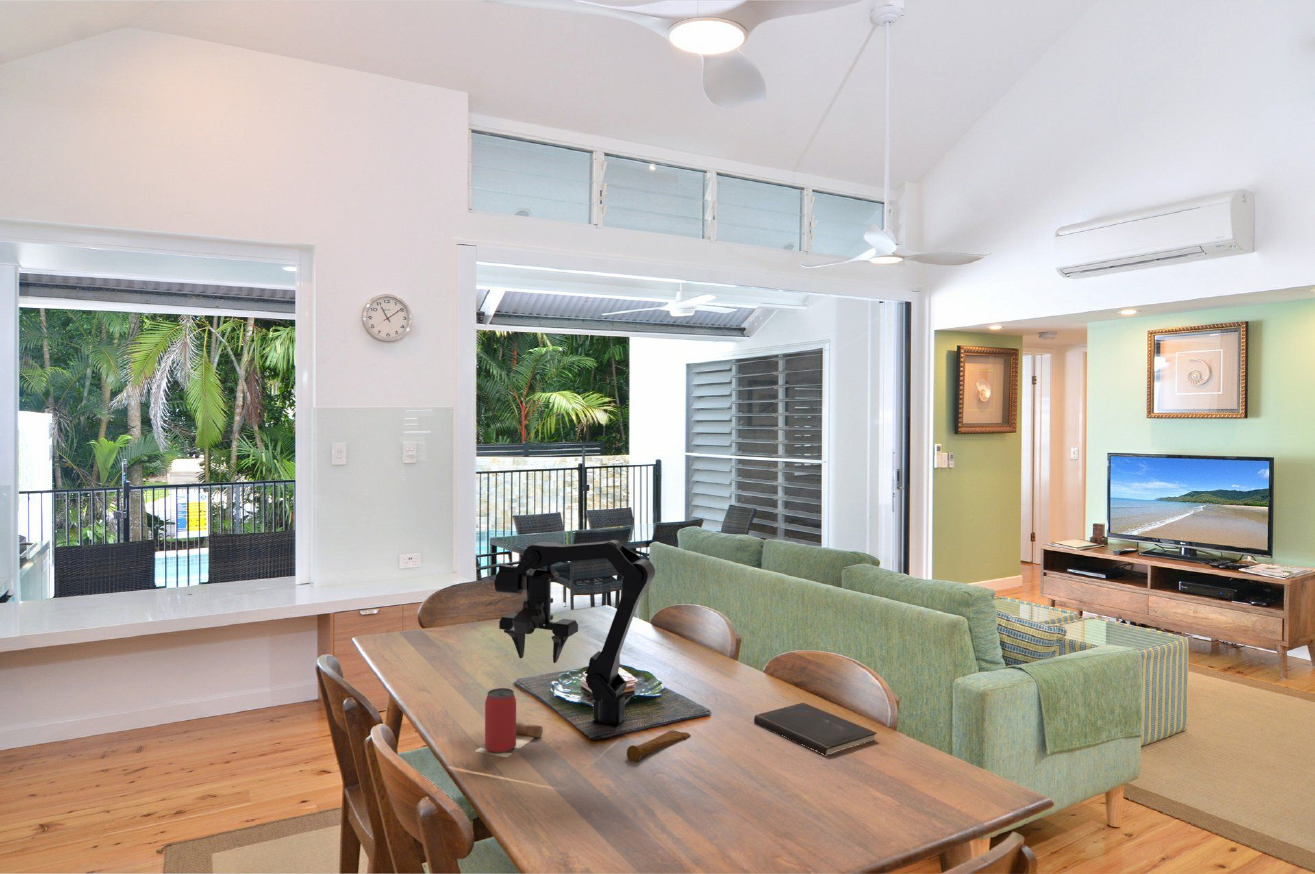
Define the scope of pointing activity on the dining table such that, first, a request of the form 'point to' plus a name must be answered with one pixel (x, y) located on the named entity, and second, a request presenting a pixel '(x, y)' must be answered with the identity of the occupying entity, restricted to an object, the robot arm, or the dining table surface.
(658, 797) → the dining table surface
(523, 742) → the plywood offcut
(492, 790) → the dining table surface
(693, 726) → the dining table surface
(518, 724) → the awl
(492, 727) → the beer can
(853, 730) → the hardcover book
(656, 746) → the primitive tool
